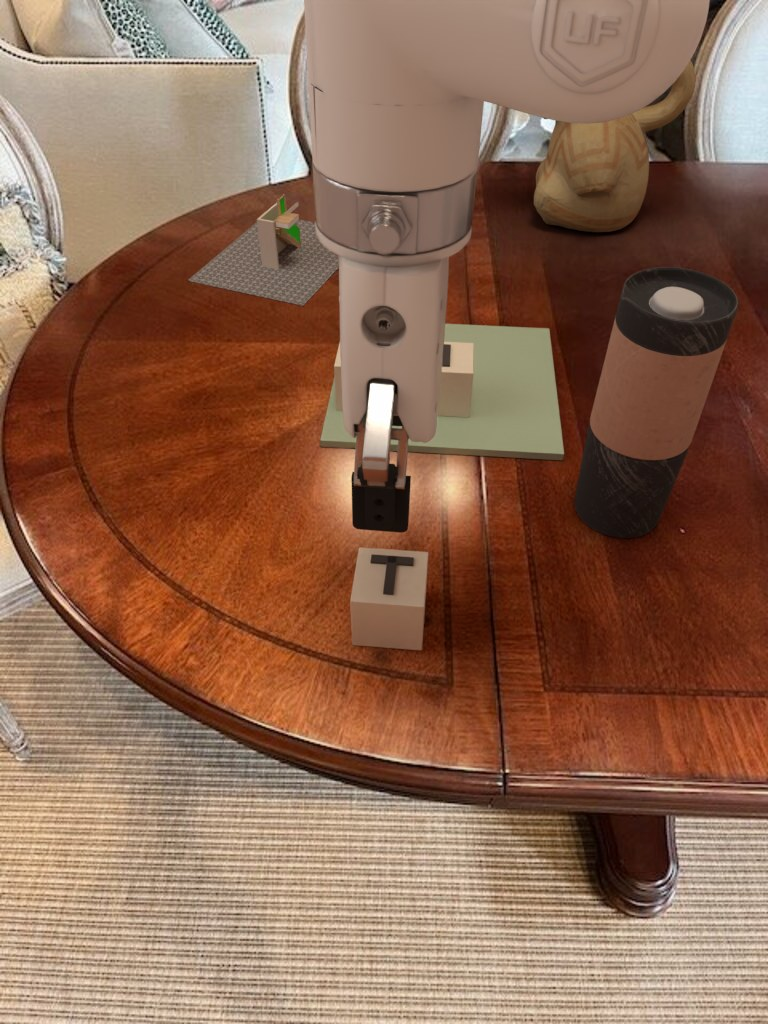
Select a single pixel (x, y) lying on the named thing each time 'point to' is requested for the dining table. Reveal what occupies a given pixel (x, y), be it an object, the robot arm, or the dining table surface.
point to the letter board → (490, 400)
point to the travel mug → (651, 396)
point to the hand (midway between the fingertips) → (387, 471)
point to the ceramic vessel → (603, 165)
